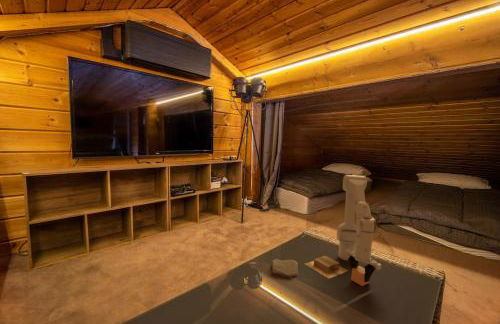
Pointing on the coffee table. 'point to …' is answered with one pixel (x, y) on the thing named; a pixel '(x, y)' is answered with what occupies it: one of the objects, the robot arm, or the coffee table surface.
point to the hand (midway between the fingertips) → (360, 277)
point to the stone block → (285, 268)
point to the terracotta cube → (359, 275)
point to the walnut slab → (326, 264)
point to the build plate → (329, 275)
